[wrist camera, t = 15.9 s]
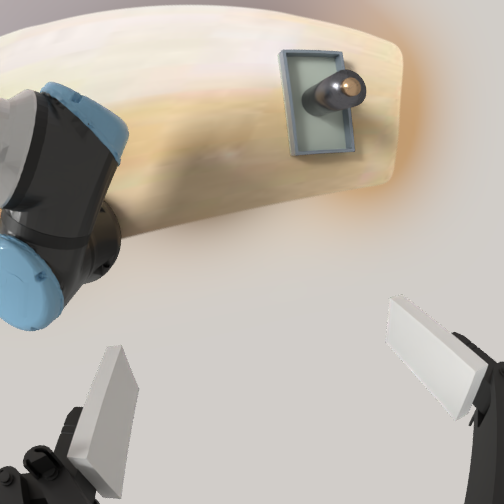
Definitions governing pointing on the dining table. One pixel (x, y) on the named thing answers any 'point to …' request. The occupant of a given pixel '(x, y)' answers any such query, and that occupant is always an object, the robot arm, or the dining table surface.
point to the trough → (298, 120)
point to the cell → (334, 93)
